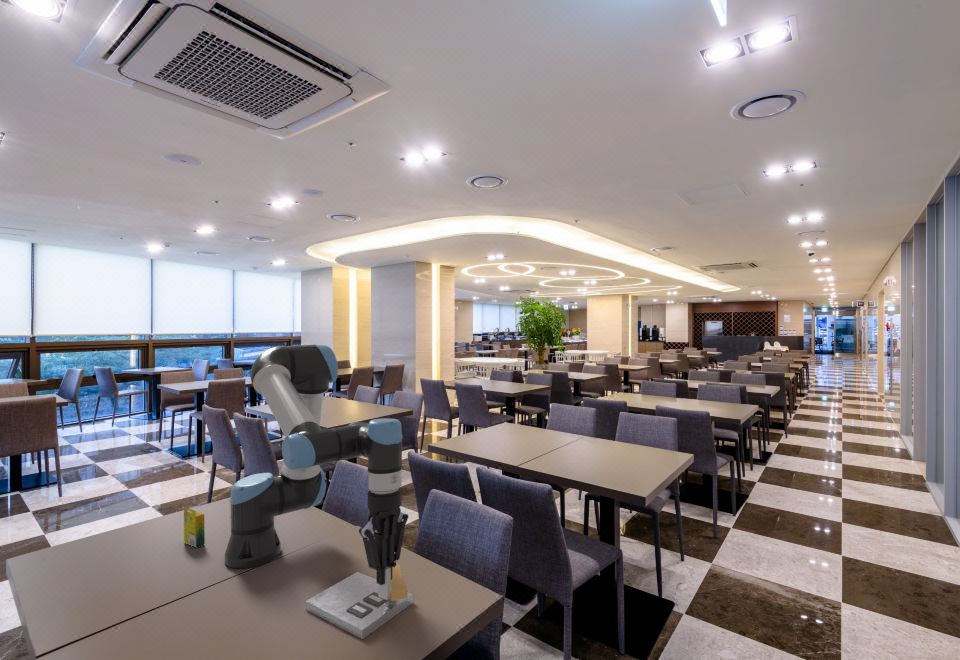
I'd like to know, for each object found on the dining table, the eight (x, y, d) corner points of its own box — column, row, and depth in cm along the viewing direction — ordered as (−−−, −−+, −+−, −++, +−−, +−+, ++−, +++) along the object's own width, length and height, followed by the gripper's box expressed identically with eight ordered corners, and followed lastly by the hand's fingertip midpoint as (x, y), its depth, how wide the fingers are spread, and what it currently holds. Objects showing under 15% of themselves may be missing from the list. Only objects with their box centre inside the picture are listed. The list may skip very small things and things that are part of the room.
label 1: (346, 610, 106) (346, 609, 106) (358, 603, 109) (358, 601, 109) (361, 617, 103) (361, 616, 103) (372, 610, 106) (372, 608, 106)
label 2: (363, 600, 110) (362, 598, 110) (373, 593, 113) (373, 591, 113) (377, 606, 107) (377, 605, 107) (388, 599, 110) (388, 597, 110)
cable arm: (382, 567, 115) (382, 561, 115) (396, 564, 116) (396, 558, 116) (391, 601, 101) (391, 593, 101) (407, 597, 102) (407, 590, 102)
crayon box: (205, 545, 146) (204, 508, 146) (195, 548, 143) (194, 511, 143) (193, 539, 150) (193, 504, 150) (183, 543, 147) (183, 506, 147)
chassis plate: (305, 609, 110) (305, 601, 110) (357, 579, 123) (357, 571, 123) (362, 639, 99) (362, 630, 99) (412, 602, 112) (412, 594, 112)
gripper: (374, 499, 95) (373, 616, 94) (416, 485, 106) (416, 590, 104) (350, 493, 100) (350, 604, 99) (393, 480, 110) (393, 580, 109)
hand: (384, 597), depth 102 cm, fingers closed
